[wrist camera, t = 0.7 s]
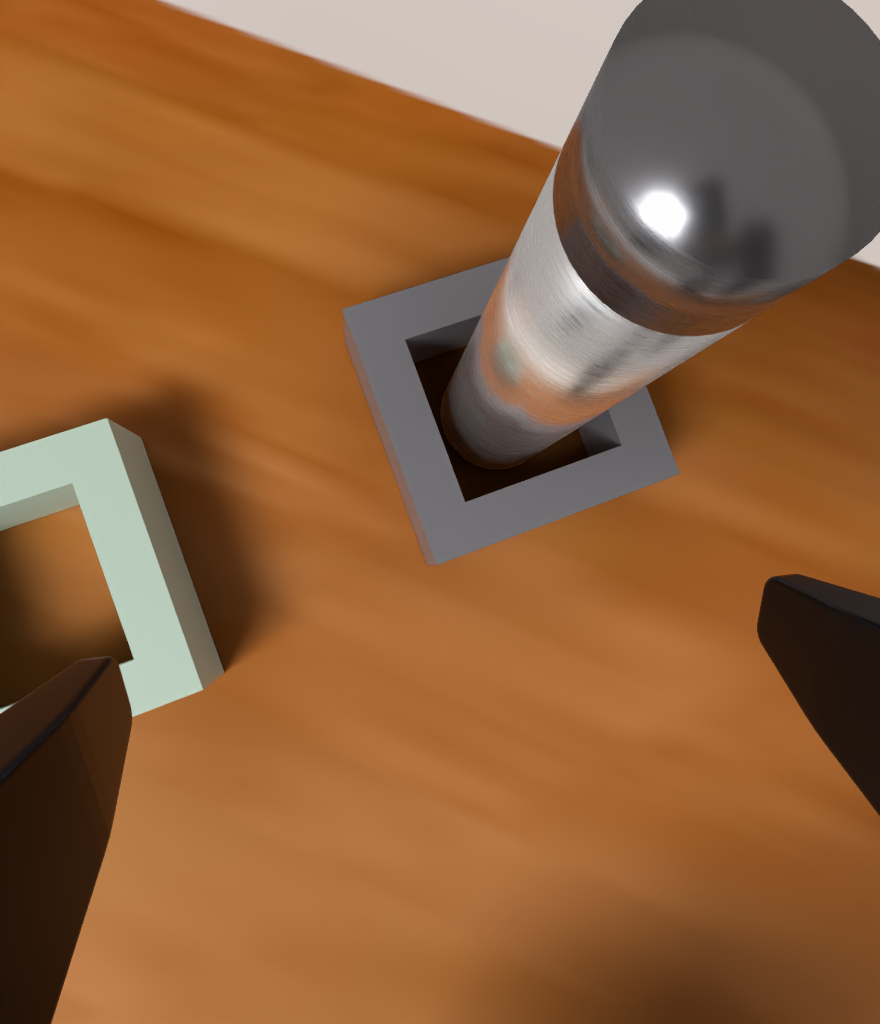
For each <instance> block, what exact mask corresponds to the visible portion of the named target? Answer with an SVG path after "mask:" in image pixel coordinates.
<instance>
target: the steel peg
mask: <svg viewBox="0 0 880 1024" xmlns="http://www.w3.org/2000/svg"><path fill="white" fill-rule="evenodd" d="M879 232H880V40H879V39H878V38H877V36H876V35H875V34H874V33H873V31H872V30H871V29H870V27H869V26H868V25H867V24H866V23H865V22H864V21H863V20H862V19H861V18H860V17H859V16H858V15H857V14H856V13H855V12H854V11H853V9H851V8H850V7H849V6H848V5H846V4H845V3H844V2H843V1H841V0H643V1H642V2H641V3H640V4H639V5H638V6H637V7H636V8H635V9H634V10H633V12H632V13H631V14H630V16H629V17H628V18H627V19H626V21H625V22H624V24H623V26H622V28H621V29H620V31H619V33H618V35H617V36H616V38H615V40H614V42H613V44H612V47H611V48H610V50H609V53H608V55H607V57H606V59H605V61H604V63H603V65H602V67H601V69H600V71H599V73H598V75H597V77H596V80H595V81H594V84H593V86H592V88H591V90H590V92H589V94H588V96H587V98H586V100H585V102H584V105H583V106H582V109H581V111H580V113H579V115H578V117H577V119H576V121H575V123H574V125H573V127H572V129H571V131H570V134H569V135H568V138H567V140H566V142H565V144H564V146H563V148H562V150H561V152H560V154H559V156H558V158H557V160H556V162H555V164H554V166H553V169H552V171H551V173H550V175H549V177H548V179H547V181H546V183H545V185H544V187H543V189H542V191H541V193H540V195H539V198H538V200H537V202H536V204H535V206H534V208H533V210H532V212H531V214H530V216H529V218H528V220H527V222H526V225H525V227H524V229H523V231H522V233H521V235H520V237H519V239H518V241H517V243H516V245H515V247H514V249H513V251H512V254H511V256H510V258H509V260H508V262H507V264H506V266H505V268H504V270H503V272H502V274H501V276H500V278H499V281H498V283H497V285H496V287H495V289H494V291H493V293H492V295H491V297H490V299H489V301H488V303H487V305H486V307H485V310H484V312H483V314H482V316H481V318H480V320H479V322H478V324H477V326H476V328H475V330H474V332H473V334H472V337H471V339H470V341H469V343H468V345H467V347H466V349H465V351H464V353H463V355H462V357H461V359H460V361H459V363H458V366H457V368H456V370H455V372H454V374H453V376H452V378H451V380H450V382H449V384H448V386H447V388H446V390H445V393H444V396H443V399H442V403H441V423H442V427H443V431H444V433H445V436H446V438H447V440H448V442H449V443H450V445H451V446H452V447H453V449H454V450H455V451H456V452H457V453H458V454H459V455H460V456H461V457H462V458H464V459H465V460H467V461H468V462H470V463H472V464H474V465H476V466H479V467H482V468H486V469H494V470H495V469H508V468H511V467H515V466H517V465H520V464H522V463H523V462H525V461H527V460H528V459H530V458H531V457H533V456H535V455H536V454H538V453H539V452H541V451H543V450H544V449H546V448H547V447H549V446H551V445H552V444H554V443H555V442H557V441H559V440H560V439H562V438H563V437H565V436H567V435H568V434H570V433H571V432H573V431H575V430H576V429H578V428H579V427H581V426H582V425H584V424H586V423H587V422H589V421H590V420H592V419H594V418H595V417H597V416H598V415H600V414H602V413H603V412H605V411H606V410H608V409H610V408H611V407H613V406H614V405H616V404H618V403H619V402H621V401H622V400H624V399H626V398H627V397H629V396H630V395H632V394H633V393H635V392H637V391H638V390H640V389H641V388H643V387H645V386H646V385H648V384H649V383H651V382H653V381H654V380H656V379H657V378H659V377H661V376H662V375H664V374H665V373H667V372H669V371H670V370H672V369H673V368H675V367H677V366H678V365H680V364H681V363H683V362H685V361H686V360H688V359H689V358H691V357H692V356H694V355H696V354H697V353H699V352H700V351H702V350H704V349H705V348H707V347H708V346H710V345H712V344H713V343H715V342H716V341H718V340H720V339H721V338H723V337H724V336H726V335H728V334H729V333H731V332H732V331H734V330H736V329H737V328H739V327H740V326H742V325H743V324H745V323H747V322H748V321H750V320H751V319H753V318H755V317H756V316H758V315H759V314H761V313H763V312H764V311H766V310H767V309H769V308H771V307H772V306H774V305H775V304H777V303H779V302H780V301H782V300H783V299H785V298H787V297H788V296H790V295H791V294H793V293H795V292H796V291H798V290H799V289H801V288H802V287H804V286H806V285H807V284H809V283H810V282H812V281H814V280H815V279H817V278H818V277H820V276H822V275H823V274H825V273H826V272H828V271H830V270H831V269H833V268H834V267H836V266H838V265H839V264H841V263H842V262H844V261H846V260H847V259H849V258H850V257H852V256H853V255H855V254H856V253H858V252H859V251H860V250H861V249H862V248H864V247H865V246H866V245H867V244H868V243H870V242H871V241H872V240H873V239H874V237H875V236H876V235H877V234H878V233H879Z"/></svg>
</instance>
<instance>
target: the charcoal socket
mask: <svg viewBox="0 0 880 1024" xmlns="http://www.w3.org/2000/svg"><path fill="white" fill-rule="evenodd" d="M509 258H510V257H508V258H505V259H502V260H498V261H495V262H492V263H489V264H485V265H482V266H479V267H476V268H473V269H469V270H466V271H463V272H460V273H457V274H453V275H450V276H447V277H444V278H441V279H437V280H434V281H431V282H428V283H425V284H421V285H418V286H415V287H412V288H409V289H405V290H402V291H399V292H396V293H393V294H389V295H386V296H383V297H380V298H376V299H373V300H370V301H367V302H364V303H360V304H357V305H354V306H351V307H348V308H344V309H343V320H344V334H345V343H346V345H347V348H348V351H349V353H350V356H351V359H352V362H353V364H354V367H355V370H356V373H357V375H358V378H359V381H360V383H361V386H362V389H363V392H364V394H365V397H366V400H367V402H368V405H369V408H370V411H371V413H372V416H373V419H374V422H375V424H376V427H377V430H378V432H379V435H380V438H381V441H382V443H383V446H384V449H385V452H386V454H387V457H388V460H389V462H390V465H391V468H392V471H393V473H394V476H395V479H396V481H397V484H398V487H399V490H400V492H401V495H402V498H403V501H404V503H405V506H406V509H407V511H408V514H409V517H410V520H411V522H412V525H413V528H414V531H415V533H416V536H417V539H418V541H419V544H420V547H421V550H422V552H423V555H424V558H425V560H426V563H427V565H438V564H441V563H443V562H446V561H449V560H451V559H454V558H457V557H459V556H462V555H465V554H467V553H470V552H473V551H475V550H478V549H481V548H483V547H486V546H489V545H491V544H494V543H497V542H499V541H502V540H505V539H507V538H510V537H513V536H515V535H518V534H521V533H523V532H526V531H529V530H531V529H534V528H537V527H539V526H542V525H545V524H547V523H550V522H553V521H555V520H558V519H561V518H563V517H566V516H569V515H571V514H574V513H577V512H579V511H582V510H585V509H587V508H590V507H593V506H595V505H598V504H601V503H603V502H606V501H609V500H611V499H614V498H617V497H619V496H622V495H625V494H627V493H630V492H633V491H635V490H638V489H641V488H643V487H646V486H649V485H651V484H654V483H657V482H659V481H662V480H665V479H667V478H670V477H673V476H675V475H678V474H680V473H679V470H678V467H677V465H676V462H675V460H674V457H673V454H672V452H671V449H670V446H669V444H668V441H667V439H666V436H665V433H664V431H663V428H662V426H661V423H660V420H659V418H658V415H657V412H656V410H655V407H654V405H653V402H652V399H651V397H650V394H649V392H648V389H647V386H645V387H643V388H641V389H640V390H638V391H637V392H635V393H633V394H632V395H630V396H629V397H627V398H626V399H624V400H622V401H621V402H619V403H618V404H616V405H614V406H613V407H611V408H610V409H608V410H606V411H605V412H603V413H602V414H600V415H598V416H597V417H595V418H594V419H592V420H590V421H589V422H587V423H586V424H584V425H582V426H581V427H579V428H578V430H579V433H580V436H581V438H582V441H583V444H584V446H585V449H586V451H587V454H588V458H586V459H583V460H580V461H577V462H575V463H572V464H569V465H566V466H564V467H561V468H558V469H555V470H553V471H550V472H547V473H544V474H542V475H539V476H536V477H533V478H531V479H528V480H525V481H522V482H520V483H517V484H514V485H511V486H509V487H506V488H503V489H500V490H498V491H495V492H492V493H489V494H487V495H484V496H481V497H478V498H476V499H473V500H470V501H467V502H465V500H464V497H463V495H462V492H461V489H460V487H459V484H458V481H457V479H456V476H455V473H454V470H453V468H452V465H451V462H450V460H449V457H448V454H447V452H446V449H445V446H444V443H443V441H442V438H441V435H440V433H439V430H438V427H437V425H436V422H435V419H434V416H433V414H432V411H431V408H430V406H429V403H428V400H427V398H426V395H425V392H424V389H423V387H422V384H421V381H420V379H419V376H418V373H417V371H416V368H415V365H414V363H416V362H419V361H422V360H425V359H428V358H431V357H434V356H437V355H440V354H443V353H446V352H449V351H452V350H455V349H458V348H461V347H464V346H467V345H468V343H469V341H470V339H471V337H472V334H473V332H474V330H475V328H476V326H477V324H478V322H479V320H480V318H481V316H482V314H483V312H484V310H485V307H486V305H487V303H488V301H489V299H490V297H491V295H492V293H493V291H494V289H495V287H496V285H497V283H498V281H499V278H500V276H501V274H502V272H503V270H504V268H505V266H506V264H507V262H508V260H509Z"/></svg>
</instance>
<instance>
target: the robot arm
mask: <svg viewBox="0 0 880 1024" xmlns="http://www.w3.org/2000/svg"><path fill="white" fill-rule="evenodd" d="M757 632H758V637H759V639H760V642H761V644H762V646H763V647H764V649H765V650H766V652H767V654H768V655H769V657H770V659H771V660H772V662H773V663H774V665H775V667H776V668H777V670H778V672H779V673H780V675H781V676H782V678H783V680H784V681H785V683H786V685H787V686H788V688H789V689H790V691H791V693H792V694H793V696H794V698H795V699H796V701H797V702H798V704H799V706H800V707H801V709H802V711H803V712H804V714H805V715H806V717H807V718H808V720H809V722H810V723H811V725H812V726H813V728H814V729H815V731H816V732H817V733H818V735H819V736H820V738H821V739H822V740H823V742H824V743H825V744H826V746H827V747H828V748H829V750H830V751H831V752H832V754H833V755H834V756H835V758H836V759H837V760H838V762H839V763H840V764H841V766H842V767H843V768H844V770H845V771H846V772H847V773H848V775H849V776H850V777H851V779H852V780H853V781H854V783H855V784H856V785H857V787H858V788H859V789H860V791H861V792H862V793H863V795H864V796H865V797H866V799H867V800H868V801H869V803H870V804H871V805H872V806H873V808H874V809H875V810H876V812H877V813H878V814H879V816H880V598H877V597H874V596H871V595H867V594H864V593H860V592H857V591H854V590H850V589H847V588H844V587H840V586H837V585H834V584H830V583H827V582H823V581H820V580H817V579H813V578H810V577H807V576H803V575H799V574H790V575H782V576H774V577H771V578H770V579H768V580H767V582H766V583H765V586H764V590H763V595H762V601H761V606H760V612H759V617H758V623H757ZM131 726H132V710H131V705H130V701H129V698H128V694H127V691H126V687H125V684H124V680H123V677H122V673H121V670H120V667H119V664H118V662H117V661H116V659H114V658H113V657H111V656H105V657H96V658H88V659H81V660H78V661H77V662H75V663H74V664H72V665H71V666H69V667H68V668H66V669H65V670H63V671H62V672H60V673H59V674H58V675H56V676H55V677H53V678H52V679H50V680H49V681H47V682H46V683H44V684H43V685H41V686H40V687H39V688H37V689H36V690H34V691H33V692H31V693H30V694H28V695H27V696H25V697H24V698H22V699H21V700H19V701H18V702H17V703H15V704H14V705H12V706H11V707H9V708H8V709H6V710H5V711H3V712H2V713H0V1024H51V1022H52V1019H53V1016H54V1013H55V1010H56V1007H57V1003H58V1000H59V997H60V994H61V991H62V988H63V985H64V981H65V978H66V975H67V972H68V969H69V966H70V962H71V959H72V956H73V953H74V950H75V947H76V943H77V940H78V937H79V934H80V931H81V928H82V924H83V921H84V918H85V915H86V912H87V909H88V905H89V902H90V899H91V896H92V893H93V890H94V886H95V883H96V880H97V877H98V874H99V871H100V868H101V864H102V861H103V858H104V855H105V851H106V848H107V844H108V841H109V837H110V833H111V829H112V824H113V820H114V815H115V810H116V804H117V799H118V794H119V789H120V784H121V778H122V773H123V768H124V763H125V758H126V752H127V747H128V742H129V737H130V732H131Z"/></svg>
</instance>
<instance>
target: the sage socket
mask: <svg viewBox="0 0 880 1024" xmlns="http://www.w3.org/2000/svg"><path fill="white" fill-rule="evenodd" d="M77 505H80V507H81V509H82V512H83V515H84V518H85V521H86V524H87V527H88V529H89V532H90V535H91V538H92V541H93V544H94V547H95V549H96V552H97V555H98V558H99V561H100V564H101V567H102V569H103V572H104V575H105V578H106V581H107V584H108V587H109V589H110V592H111V595H112V598H113V601H114V604H115V607H116V609H117V612H118V615H119V618H120V621H121V624H122V627H123V629H124V632H125V635H126V638H127V641H128V644H129V647H130V649H131V652H132V655H133V658H134V659H131V660H128V661H125V662H123V663H120V664H119V667H120V670H121V673H122V677H123V680H124V684H125V687H126V691H127V694H128V698H129V701H130V705H131V710H132V717H133V716H136V715H139V714H141V713H144V712H146V711H149V710H152V709H154V708H157V707H160V706H162V705H165V704H167V703H170V702H173V701H175V700H178V699H180V698H183V697H186V696H188V695H191V694H193V693H196V692H199V691H201V690H203V689H205V688H206V687H207V686H209V685H210V684H211V683H212V682H214V681H215V680H216V679H217V678H219V677H220V676H221V675H222V674H224V670H223V667H222V664H221V662H220V659H219V656H218V653H217V650H216V647H215V645H214V642H213V639H212V636H211V633H210V631H209V628H208V625H207V622H206V619H205V616H204V614H203V611H202V608H201V605H200V602H199V599H198V597H197V594H196V591H195V588H194V585H193V583H192V580H191V577H190V574H189V571H188V568H187V566H186V563H185V560H184V557H183V554H182V552H181V549H180V546H179V543H178V540H177V537H176V535H175V532H174V529H173V526H172V523H171V520H170V518H169V515H168V512H167V509H166V506H165V504H164V501H163V498H162V495H161V492H160V489H159V487H158V484H157V481H156V478H155V475H154V473H153V470H152V467H151V464H150V461H149V458H148V456H147V453H146V450H145V447H144V444H143V441H142V439H141V437H140V436H138V435H136V434H134V433H133V432H131V431H129V430H127V429H126V428H124V427H122V426H120V425H119V424H117V423H115V422H113V421H112V420H110V419H108V418H105V419H102V420H99V421H96V422H93V423H90V424H86V425H83V426H80V427H77V428H74V429H71V430H68V431H64V432H61V433H58V434H55V435H52V436H49V437H46V438H43V439H39V440H36V441H33V442H30V443H27V444H24V445H21V446H17V447H14V448H11V449H8V450H5V451H2V452H0V531H2V530H5V529H8V528H11V527H14V526H17V525H20V524H23V523H26V522H29V521H32V520H35V519H38V518H41V517H44V516H47V515H50V514H53V513H56V512H59V511H62V510H65V509H68V508H71V507H74V506H77ZM15 703H17V702H15ZM15 703H12V704H10V705H7V706H4V707H1V708H0V713H2V712H3V711H5V710H6V709H8V708H9V707H11V706H12V705H14V704H15Z"/></svg>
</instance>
